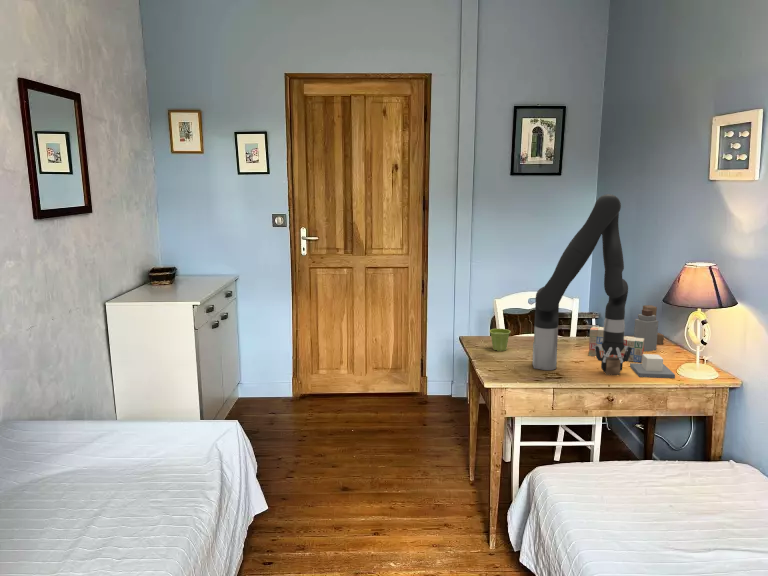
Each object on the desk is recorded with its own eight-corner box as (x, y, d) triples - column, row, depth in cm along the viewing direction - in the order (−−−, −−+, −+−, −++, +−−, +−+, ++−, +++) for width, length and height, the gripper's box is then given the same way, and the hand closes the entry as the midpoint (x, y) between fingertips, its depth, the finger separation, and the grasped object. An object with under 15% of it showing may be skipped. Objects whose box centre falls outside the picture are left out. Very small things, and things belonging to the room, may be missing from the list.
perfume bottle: (633, 347, 260) (635, 309, 256) (644, 346, 262) (647, 308, 259) (644, 351, 253) (647, 312, 250) (656, 350, 256) (659, 311, 253)
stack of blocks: (643, 359, 243) (645, 331, 241) (641, 363, 238) (643, 334, 236) (591, 352, 254) (592, 325, 252) (588, 355, 249) (589, 328, 246)
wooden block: (658, 341, 269) (661, 304, 266) (663, 344, 265) (666, 306, 262) (639, 342, 268) (642, 305, 265) (645, 345, 264) (647, 307, 261)
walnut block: (606, 375, 223) (607, 360, 222) (603, 371, 228) (604, 356, 227) (619, 375, 222) (620, 360, 221) (616, 371, 227) (617, 357, 226)
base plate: (639, 377, 220) (640, 360, 219) (629, 366, 233) (630, 351, 232) (674, 378, 218) (676, 362, 217) (663, 367, 231) (664, 352, 230)
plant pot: (505, 353, 253) (506, 334, 252) (485, 350, 258) (486, 332, 256) (512, 348, 261) (513, 330, 259) (493, 345, 266) (493, 327, 264)
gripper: (630, 327, 224) (627, 368, 227) (592, 326, 227) (590, 367, 230) (636, 332, 217) (633, 374, 220) (596, 331, 219) (594, 373, 222)
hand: (611, 370), depth 225 cm, fingers closed on walnut block, 5 cm apart
